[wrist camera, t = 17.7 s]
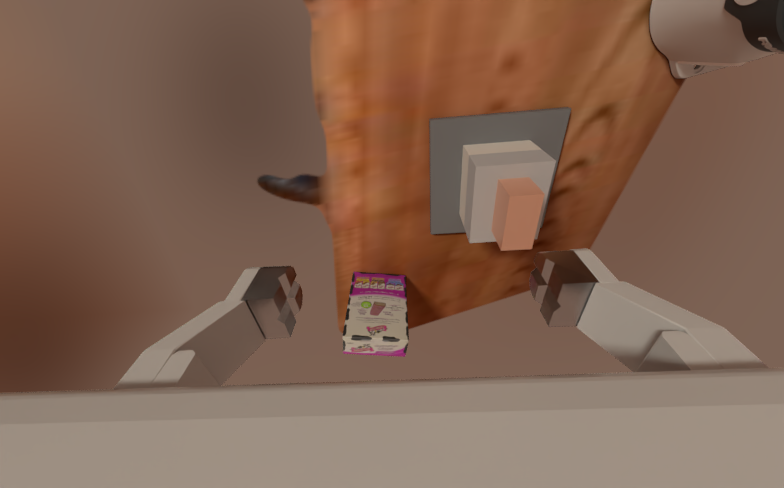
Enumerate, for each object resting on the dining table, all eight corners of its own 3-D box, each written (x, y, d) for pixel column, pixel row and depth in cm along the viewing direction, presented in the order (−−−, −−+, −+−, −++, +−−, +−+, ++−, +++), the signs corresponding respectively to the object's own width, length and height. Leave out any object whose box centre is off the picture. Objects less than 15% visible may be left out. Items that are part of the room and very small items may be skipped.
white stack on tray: (567, 107, 43) (607, 124, 35) (539, 224, 54) (564, 258, 46) (429, 118, 44) (436, 138, 36) (430, 231, 56) (436, 265, 47)
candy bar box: (352, 288, 64) (341, 354, 51) (353, 270, 62) (340, 336, 48) (404, 291, 65) (405, 358, 51) (406, 274, 62) (409, 340, 49)
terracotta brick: (529, 177, 39) (544, 194, 35) (519, 228, 43) (531, 249, 39) (498, 179, 39) (509, 196, 35) (491, 230, 43) (501, 250, 39)
